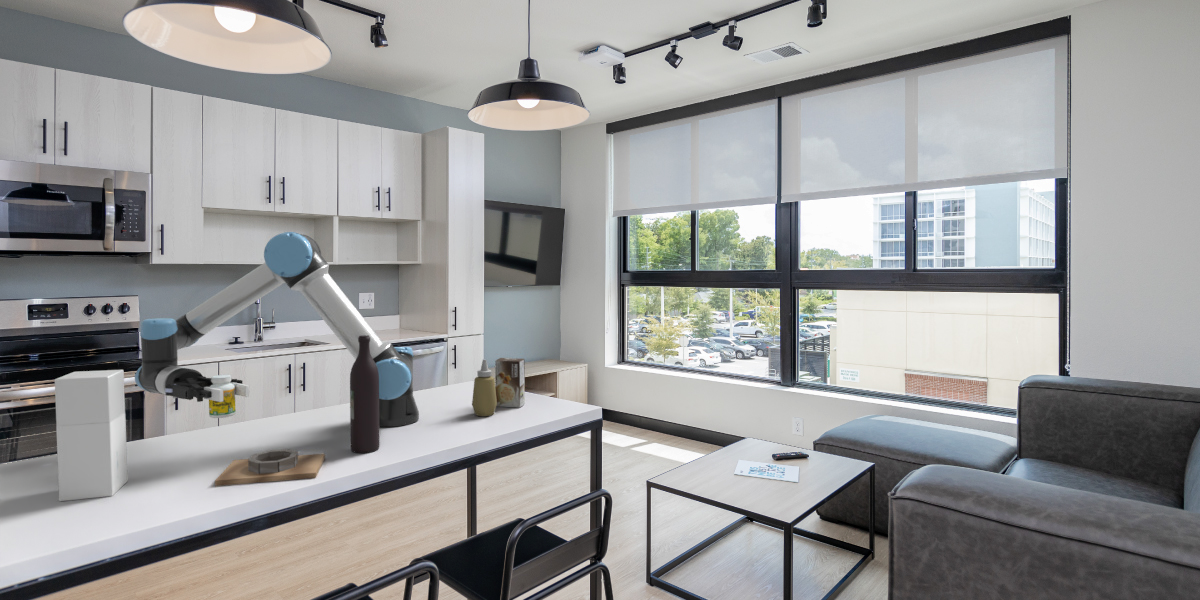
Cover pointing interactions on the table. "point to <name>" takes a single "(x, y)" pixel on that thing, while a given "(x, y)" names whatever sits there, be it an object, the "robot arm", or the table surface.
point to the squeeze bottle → (484, 392)
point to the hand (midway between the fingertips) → (234, 393)
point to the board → (271, 468)
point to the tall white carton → (91, 434)
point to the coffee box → (510, 382)
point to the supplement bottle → (228, 402)
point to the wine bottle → (364, 400)
